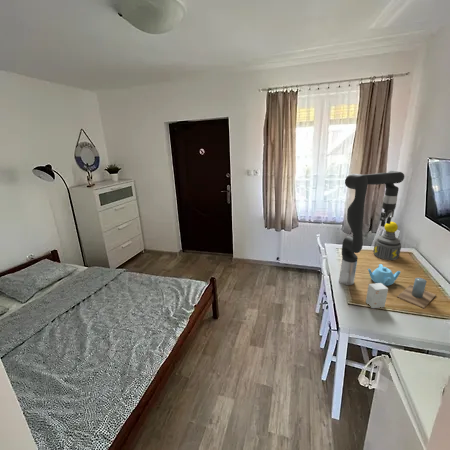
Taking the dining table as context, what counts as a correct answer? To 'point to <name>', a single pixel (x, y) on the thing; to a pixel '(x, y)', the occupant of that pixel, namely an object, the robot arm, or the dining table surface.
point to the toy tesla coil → (388, 243)
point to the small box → (376, 295)
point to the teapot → (383, 275)
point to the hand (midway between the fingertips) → (385, 225)
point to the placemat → (420, 302)
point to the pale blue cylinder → (419, 287)
